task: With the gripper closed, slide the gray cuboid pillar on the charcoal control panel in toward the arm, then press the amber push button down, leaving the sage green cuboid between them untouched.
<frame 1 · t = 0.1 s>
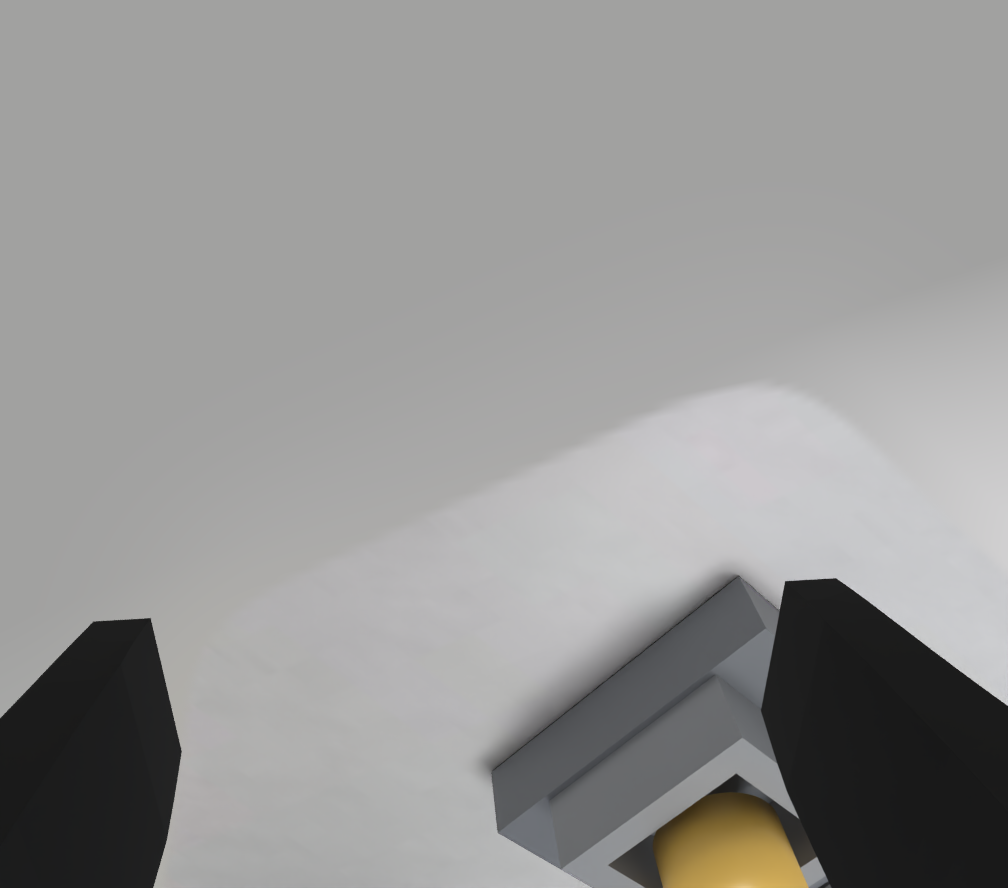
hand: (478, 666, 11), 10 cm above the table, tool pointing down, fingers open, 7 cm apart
control panel: (812, 826, 28), on the table
amber button: (728, 873, 22), point 5 cm above the table, slide at 0.0 cm
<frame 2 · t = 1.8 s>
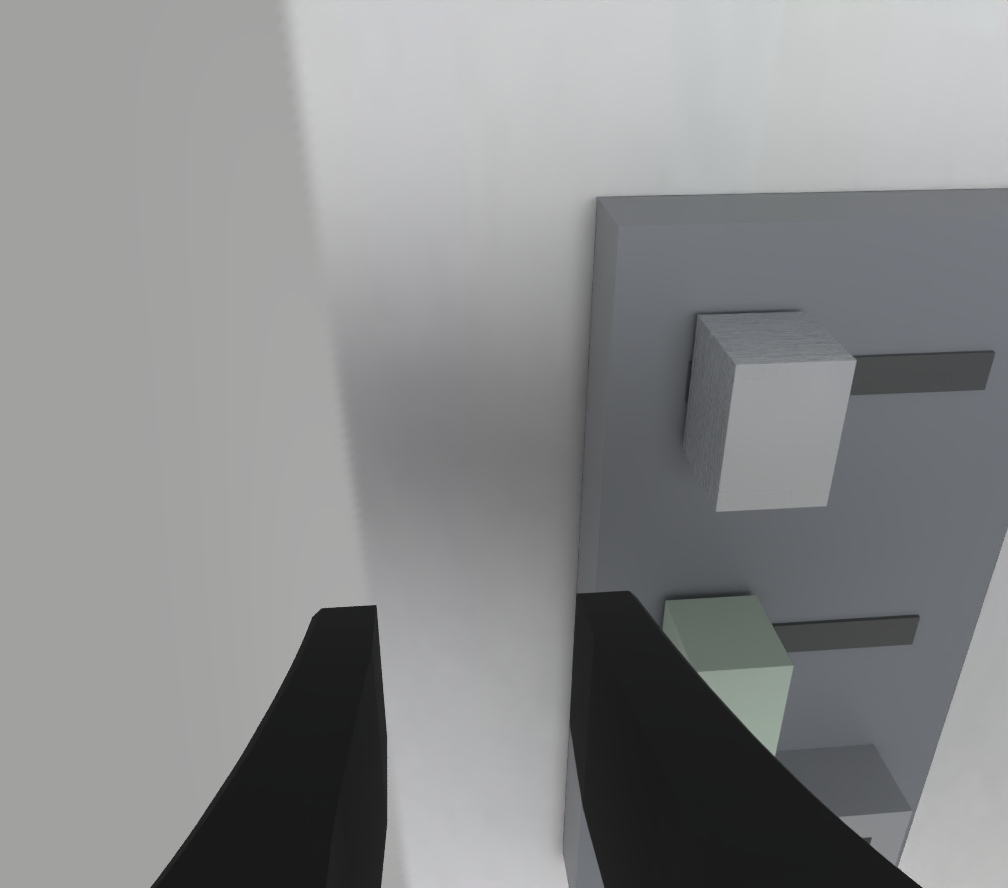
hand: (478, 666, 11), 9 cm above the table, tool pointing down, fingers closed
control panel: (757, 582, 23), on the table
gray cuboid pillar: (761, 409, 16), point 3 cm above the table, slide at 0.0 cm
sage green cuboid: (718, 682, 20), point 3 cm above the table, slide at 0.0 cm
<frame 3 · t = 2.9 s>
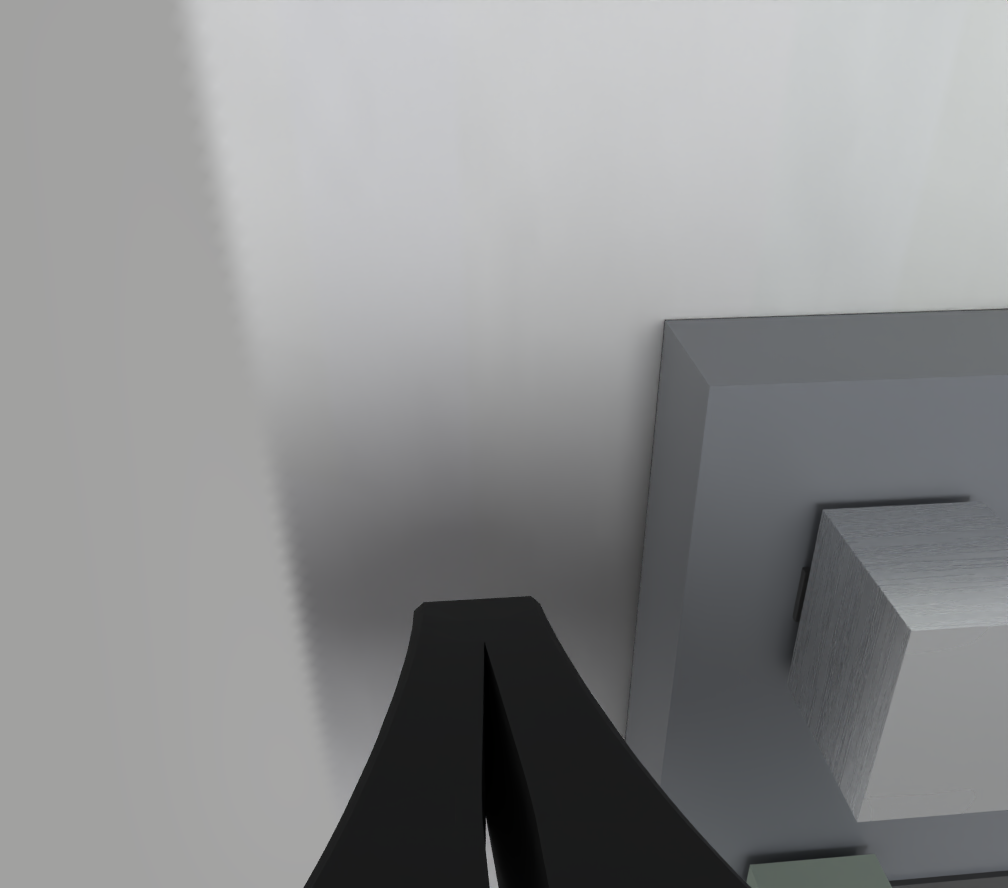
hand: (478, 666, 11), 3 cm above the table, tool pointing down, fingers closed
control panel: (858, 795, 17), on the table
gray cuboid pillar: (921, 656, 11), point 3 cm above the table, slide at 0.0 cm
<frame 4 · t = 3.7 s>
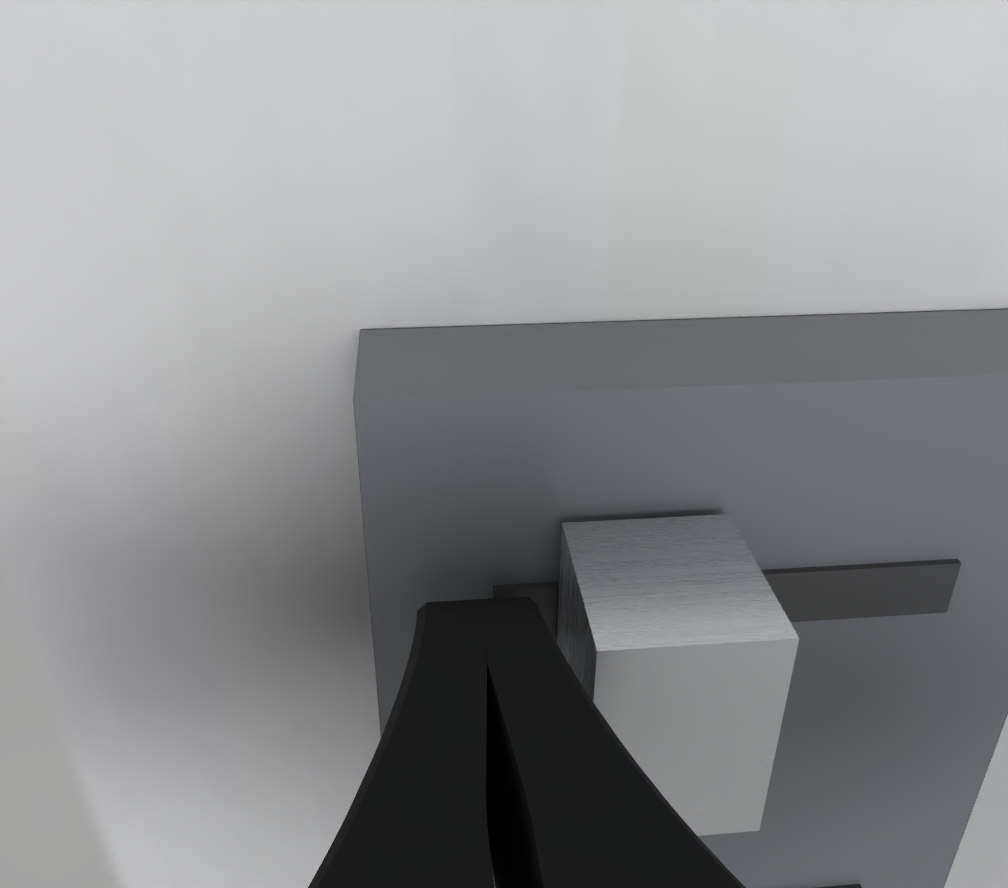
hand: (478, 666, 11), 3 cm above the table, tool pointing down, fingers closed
control panel: (648, 812, 17), on the table
gray cuboid pillar: (658, 674, 11), point 3 cm above the table, slide at 0.8 cm, touching gripper
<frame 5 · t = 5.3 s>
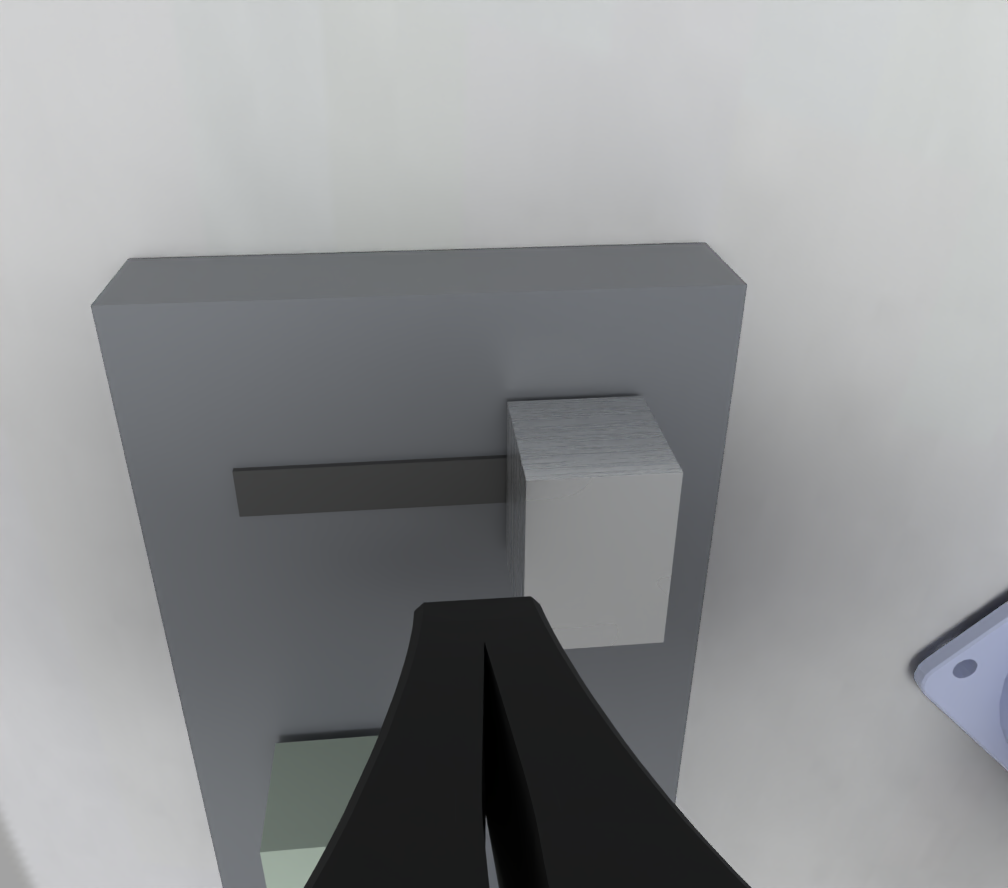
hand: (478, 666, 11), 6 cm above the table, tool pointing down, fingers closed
control panel: (442, 698, 19), on the table
gray cuboid pillar: (584, 520, 13), point 3 cm above the table, slide at 4.1 cm
sage green cuboid: (336, 845, 16), point 3 cm above the table, slide at 0.0 cm
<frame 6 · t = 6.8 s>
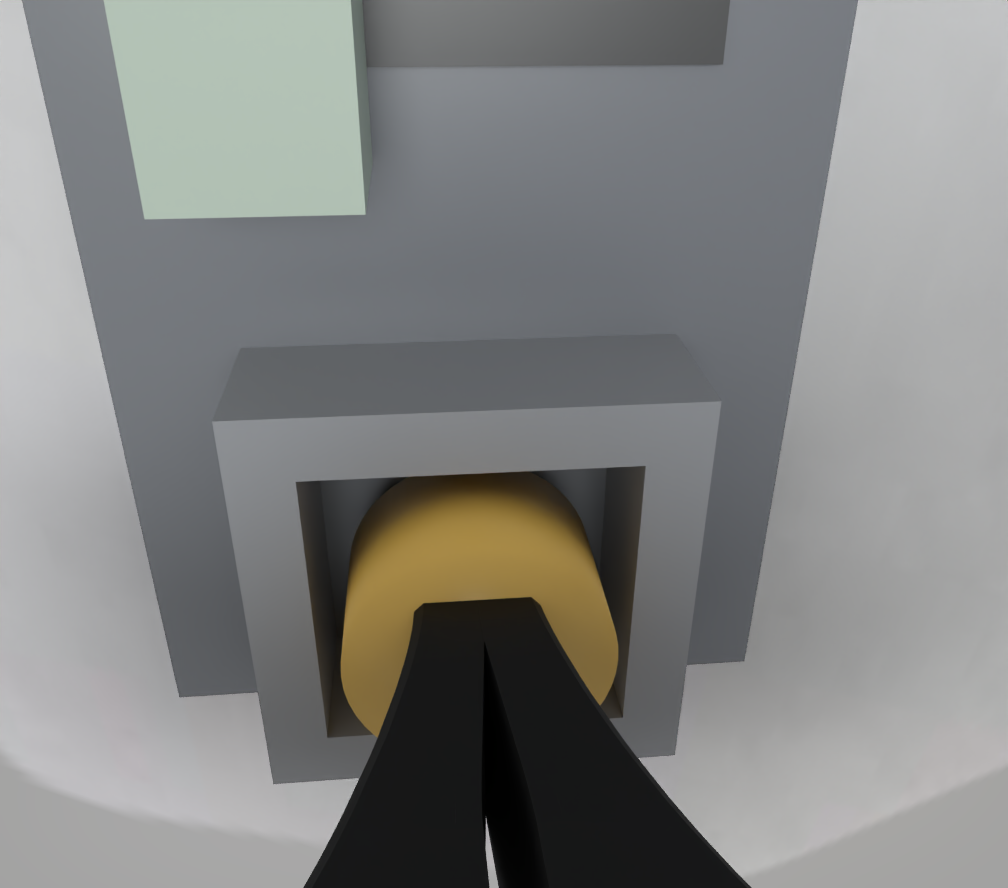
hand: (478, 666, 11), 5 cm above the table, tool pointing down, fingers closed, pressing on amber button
control panel: (448, 11, 12), on the table
sage green cuboid: (253, 39, 9), point 3 cm above the table, slide at 0.0 cm
amber button: (475, 612, 11), point 4 cm above the table, slide at 0.5 cm, touching gripper
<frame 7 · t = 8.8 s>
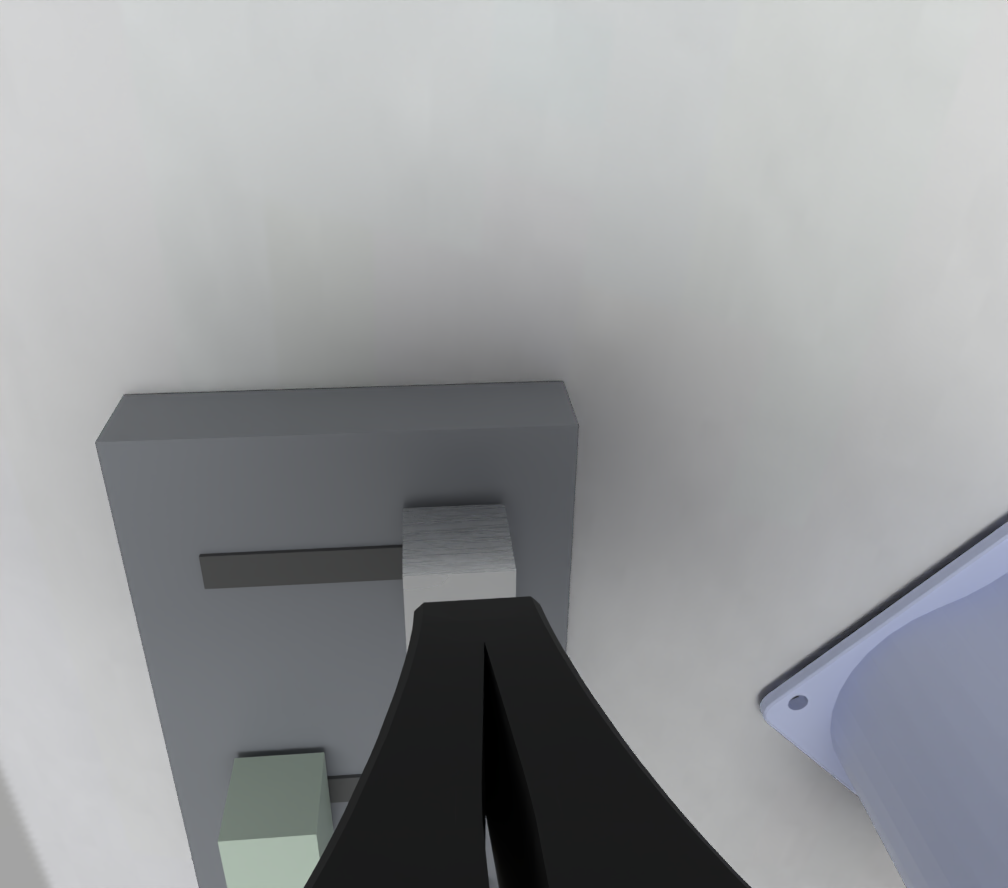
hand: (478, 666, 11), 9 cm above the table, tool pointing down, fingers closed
control panel: (374, 722, 24), on the table
gray cuboid pillar: (457, 597, 18), point 3 cm above the table, slide at 4.1 cm
sage green cuboid: (280, 837, 21), point 3 cm above the table, slide at 0.0 cm
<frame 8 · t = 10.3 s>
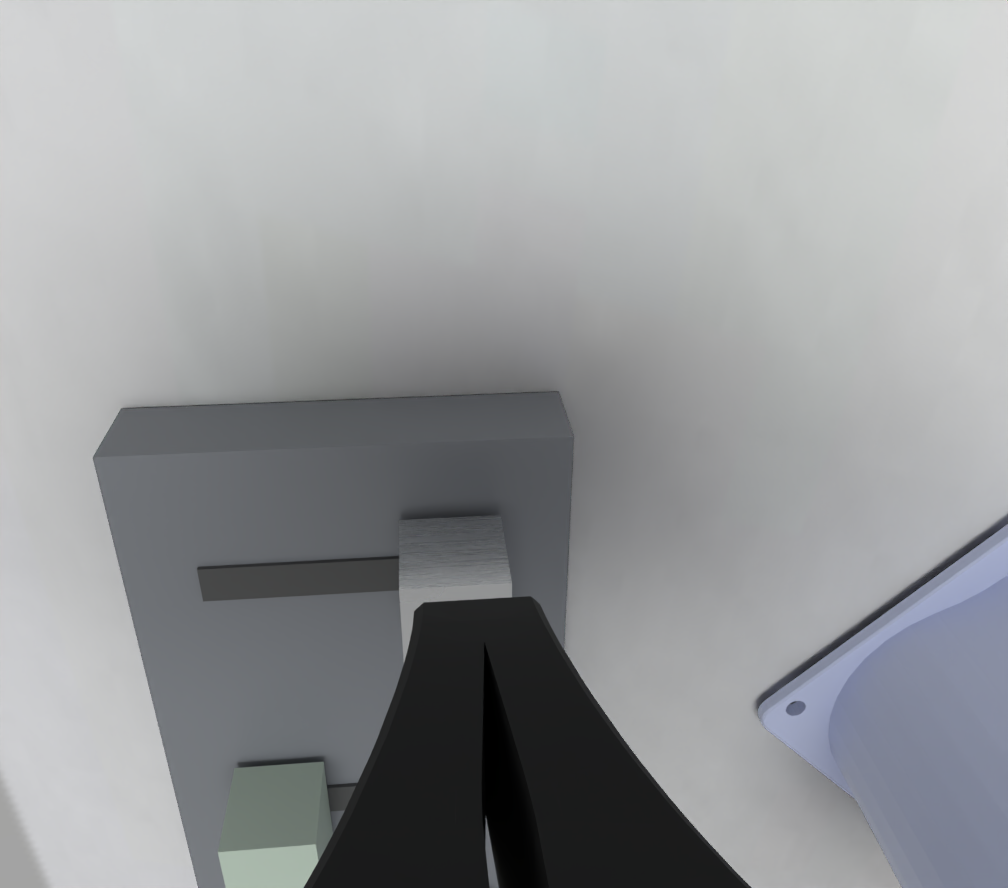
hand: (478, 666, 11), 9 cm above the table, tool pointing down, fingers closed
control panel: (373, 730, 24), on the table
gray cuboid pillar: (454, 608, 18), point 3 cm above the table, slide at 4.1 cm
sage green cuboid: (280, 847, 21), point 3 cm above the table, slide at 0.0 cm
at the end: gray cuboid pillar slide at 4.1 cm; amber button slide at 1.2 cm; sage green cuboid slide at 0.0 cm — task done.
